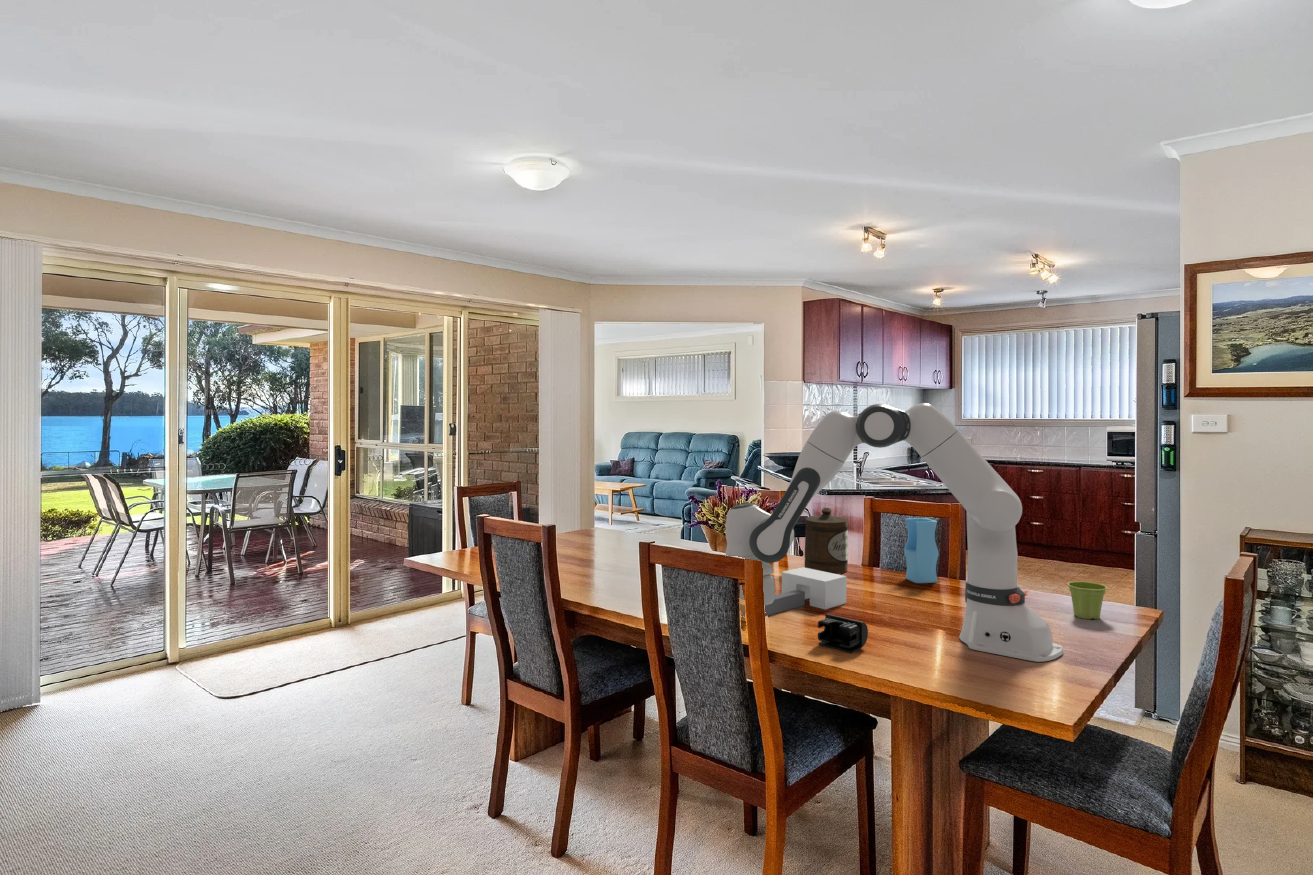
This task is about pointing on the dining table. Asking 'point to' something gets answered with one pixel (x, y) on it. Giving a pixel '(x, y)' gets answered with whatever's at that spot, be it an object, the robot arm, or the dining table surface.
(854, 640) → the end cap
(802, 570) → the block
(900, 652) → the dining table surface
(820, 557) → the wooden container
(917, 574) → the vase
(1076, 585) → the plant pot
